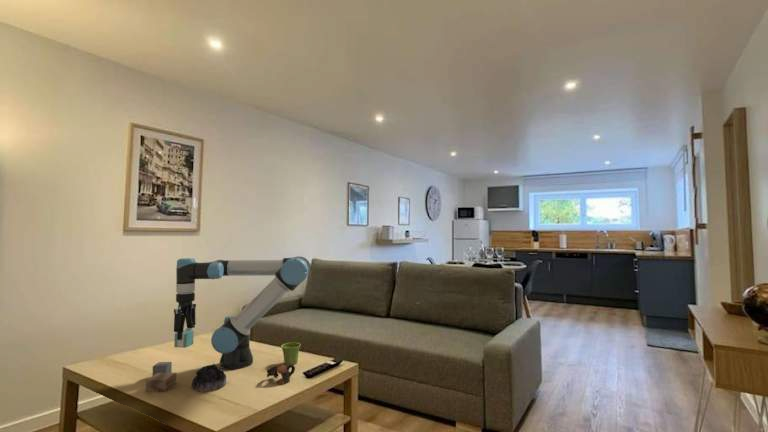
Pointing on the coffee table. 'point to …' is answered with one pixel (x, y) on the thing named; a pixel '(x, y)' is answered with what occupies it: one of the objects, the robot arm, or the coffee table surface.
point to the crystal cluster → (209, 378)
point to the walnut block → (161, 382)
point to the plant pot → (290, 352)
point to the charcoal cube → (162, 367)
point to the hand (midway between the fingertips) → (184, 344)
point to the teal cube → (186, 339)
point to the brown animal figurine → (281, 372)
